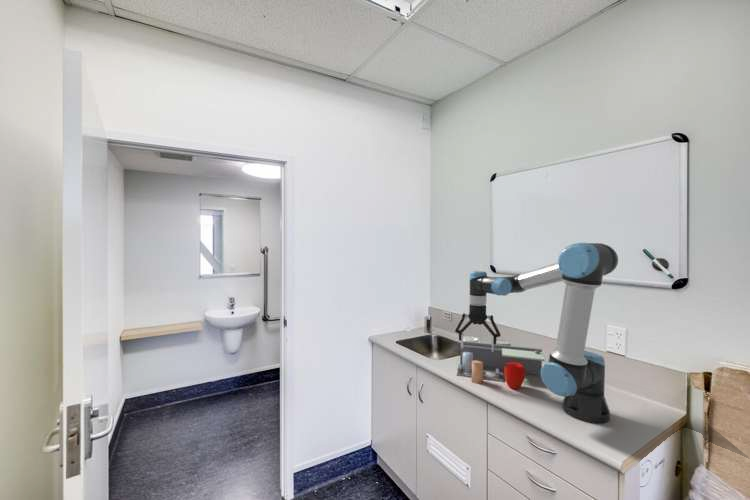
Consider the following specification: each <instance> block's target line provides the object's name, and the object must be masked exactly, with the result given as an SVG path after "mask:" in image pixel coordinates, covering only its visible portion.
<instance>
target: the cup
mask: <svg viewBox="0 0 750 500" xmlns="http://www.w3.org/2000/svg"><path fill="white" fill-rule="evenodd" d="M463 341H468V342H478V343H483V341H482V337H474V336H463Z"/></svg>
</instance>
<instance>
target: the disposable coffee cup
mask: <svg viewBox="0 0 750 500" xmlns="http://www.w3.org/2000/svg"><path fill="white" fill-rule="evenodd" d="M496 344H498V345H508V346H512V344H511V342H510V341H508V340H505V339H496Z"/></svg>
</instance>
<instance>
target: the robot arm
mask: <svg viewBox="0 0 750 500" xmlns="http://www.w3.org/2000/svg"><path fill="white" fill-rule="evenodd" d="M618 264H619V256H618V254H617V252H616V250H615V249H614V248H613V247H612V246H610V245H608V244H605V243H598V242H595V243H593V242H577V243H572V244H569V245H567V246H566V247H564V248H563V249H562V250H561V252H560V253H559V255H558V258H557V262H555V263H552V264H548V265H546V266H541V267H538V268H535V269H532V270H529V271H525V272H523V273H519V274H516V275H512V276H488V274H487V271H484V270H472V271H471V272H470V274H469V299H468V300H469V307H468V309H469V311H468V312H469V313H468V314H467V313H465V312H463V313H462V316H461V319H460V321H459V323H458V325H457V326H456V328H455V329H454V332H455V333H457V334H458V341H460V345H461V348H462V349H463V338H464V332H465V331H466V329H468V328H469V327H470V325H472V324H473V325H480V326H481V325H483V326H484V327H485V328H486V329H487V331H488V332H489V333H490V334H491V344H492V352H493V346H494V344H495V345H496V340H497V338H499V337H502V336H501V331H499V328H498V327H497V324H496V322H495V320H494V315H492V314H491V315H487V305H486V304H487V294H490V295H495V296H496V295H497V296H508V295H509V294H518V293H519V294H520V293H522V292H526V291H528V290H531V289H536V288H540V287H544V286H549V285H552V284H555V283H560V282H564V283H565V287H564V295H563V300H562V307H561V312H560V318H559V325H558V332H557V337H556V338H557V339H556V343H555V344H556V345H555V348H554V349H551V350H550V351H549V357H548V362H545V363H544V364H542V368H541V375H540V377H541V380H542V382H543V384H544V385H545V387H546V389H548V391H550V392H551V394H552V393H553V395H554V394H555V395H556V396H559V397H563V399H562V410H563V411H564V412H565V413H566V414H567V415H569V416H571V417H573V418H575V419H578V420H580V421H584V422H587V423H593V424H605V423H608V422H610V420H611V411H610V408H609V406H608V403H607V400H606V396H605V382H606V379H605V378H606V377H605V376H606V373H605V372H606V361H605V358H604V357H603V356H602V355H601V354H598V353H595V352H591V351H587V350H585V349H586V342H587V337H588V333H589V331H588V330H589V325H590V321H591V319H590V318H591V314H592V308H593V304H594V296H595V291H596V289H598V288H599V287H601V286H602V282H603V277H604V276H607V275H609V274H611V273H613V272H614V270H615V269H616V268H617V267H618ZM467 318H469V321H467V323H465V325H464V326H462V325H463V322H464V321H465V319H467ZM487 319H488V321H490V322H491V325H492V327H493V329H494V330H493V329H492V328H491V326H490V325H489V324H488V323H487V321H486V320H487ZM461 326H462V328H461ZM460 328H461V329H460Z"/></svg>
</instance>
